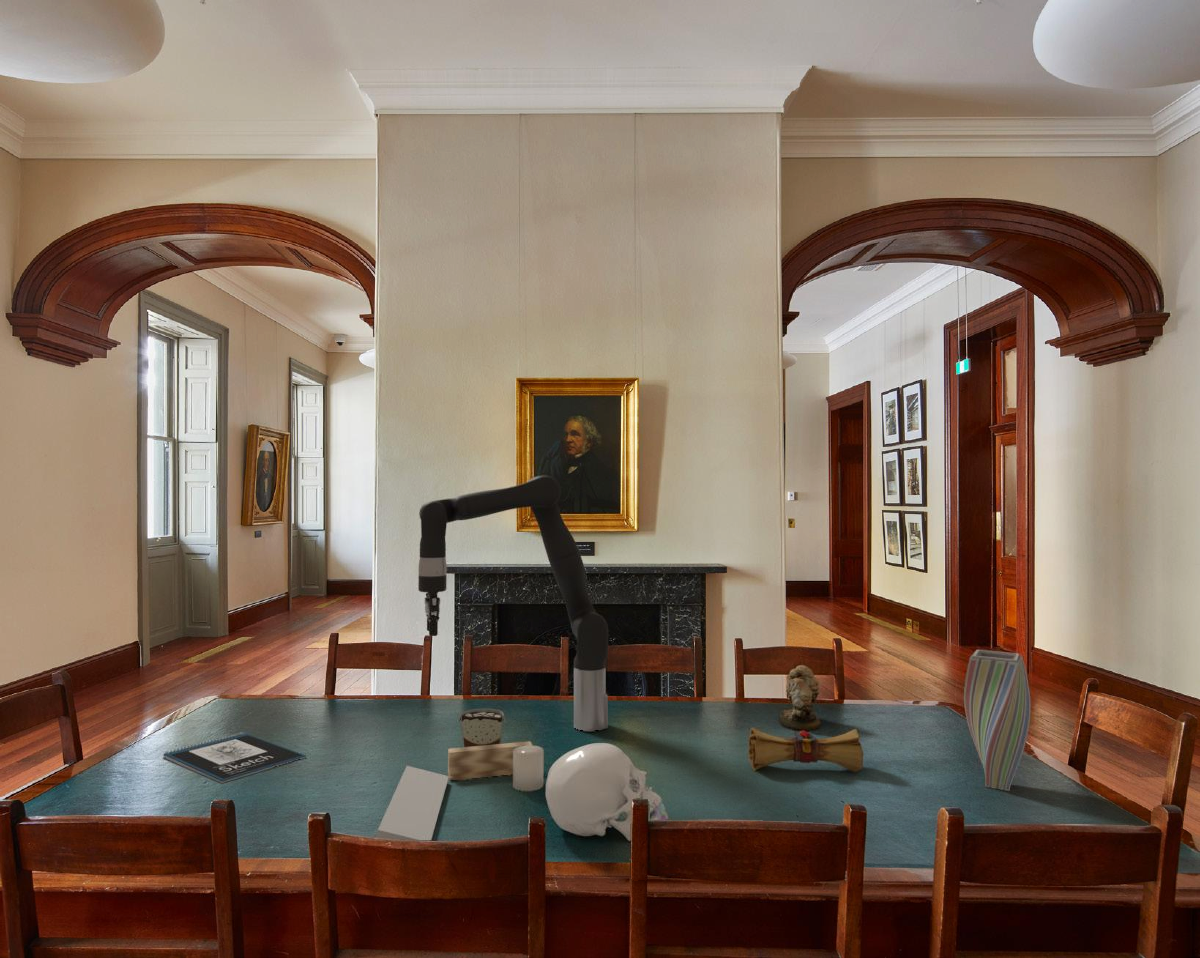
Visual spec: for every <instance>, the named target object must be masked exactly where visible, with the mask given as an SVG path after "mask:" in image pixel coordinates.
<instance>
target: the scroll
mask: <svg viewBox="0 0 1200 958" xmlns="http://www.w3.org/2000/svg"><path fill="white" fill-rule="evenodd" d="M793 734H794V737H793V736H792V738H786V737H780V736H774V735H771V734H768V733H765V732H762V731H760V730H758V729H756V728H755V727H751V728H750V733H749V737H748V755H747V757H748V759H749V763H750V764H751V767H752V769H753V771H757V770H759V769H761V768H763V767H766V766H770V765H772V764H776V763H781V762H785V761H786V762H787V761H793V762H794V763H798V762H800V763H801V764H805V763H806V764H810V763H818V761H821V762H827V763H832V764H836V765H838V766H841V768H842V767H843V768H845V769H847V770H849V771H851V772H854V773H857V772H858V771H861V770H862V769H863V765H864V751H863V746H862V744H861V742H860V735H859V733H858V731H857V728H855V729H852V730H850V731H847V732H846V733H843V734H842V733H841V734H840V735H836V736H832V737H828V738H816V736H815V737H814V735H813V733H812V731H804V730H803V731H794V732H793Z"/></svg>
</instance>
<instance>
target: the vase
mask: <svg viewBox="0 0 1200 958" xmlns="http://www.w3.org/2000/svg"><path fill="white" fill-rule="evenodd" d="M1028 679H1029V678H1028V675H1027V670H1026V666H1025V662H1024V658H1023V655H1021V654H1020V653H1015V652H1005V651H995V650H986V649H985V650H984V649H976V650H975V651H974V653H973V654H971V656H970V657H969V660H968V664H967V670H966V674H965V681H964V690H963V704H964V711H965V716H966V717H965V718H966V722H967V726H968V729H969V733H970V735H971V738H972V740H973V743H974V746H975V749H976V752H977V754H978V757H979V759H980V762H981V764H982V767H983V772H984V778H985V779H984V780H985V782H984V786H985V788H991V789H997V790H1002V791H1006V792H1007V791H1008V792H1010V790H1011V785H1012V782H1013V780H1014V777H1015V776H1016V773H1017V770H1018V767H1019V764H1020V762H1021V759H1022V756H1023V753H1024V750H1025V746H1026V743H1027V739H1028V734H1029V729H1030V724H1031V723H1030V722H1031V711H1032V709H1031V706H1032V704H1031V694H1030V693H1031V692H1030V687H1029V681H1028Z"/></svg>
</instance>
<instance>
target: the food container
mask: <svg viewBox="0 0 1200 958" xmlns="http://www.w3.org/2000/svg"><path fill="white" fill-rule="evenodd" d="M504 714H505V713H504V712H503V711H502V710H499V709H494V708H476V709H469V710H466V711H463V712H461V713H460V715H459V718H458V722H459V723H460V722H461V725H460V726H461V735H462V736H461V738H462V747H473V746H484V745H495V744H502V736H503V735H502V734H503V725H504V724H506V717H505V715H504Z"/></svg>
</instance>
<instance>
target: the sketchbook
mask: <svg viewBox="0 0 1200 958" xmlns="http://www.w3.org/2000/svg"><path fill="white" fill-rule="evenodd" d="M305 757H306V758H307V755H306V754H304V753H300V752H298V751H296V750H292V749H290V748H287V747H284V746H281V745H279V744H276V743H273V742H271V741H268V740H265V739H262V738H260V737H257V736H254V735H251V734H248V733H245V732H242V731H241V732H239V733H235V734H234V733H233V734H230V735H229V736H228V735H226V736H223V737H220V738H217V739H216V738H214V739H210V740H207V741H204V742H203V741H202V742H200V743H197V744H196V743H194V745H193V744H192V745H191V746H190V745H187V746H184V747H180V748H179V747H178V748H177V750H176V749H175V748H174V749H173V750H172V749H170V751H168V750H166V751H165V752H164V753H163V759H165V760H167V761H170V762H172V763H175V764H177V765H179V766H181V767H183V768H185V769H188V770H191V771H193V772H195V773H198V774H200V775H202V776H205V777H207V778H210V779H212V780H214V781H216V782H218V783H221V784H224V783H228V782H230V781H233V780H236V779H240V778H241V779H242V778H244V777H246V776H247V777H248V776H250V775H253V774H257V773H260V772H264V771H266V770H270V769H274V768H276V767H275V766H277V767H279V765H281V766H283V765H282V764H283V763H287V764H289V763H288V762H290V761H293V760H297V761H299V760H298V759H300V758H304V759H306V758H305ZM273 767H274V768H273Z"/></svg>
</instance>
